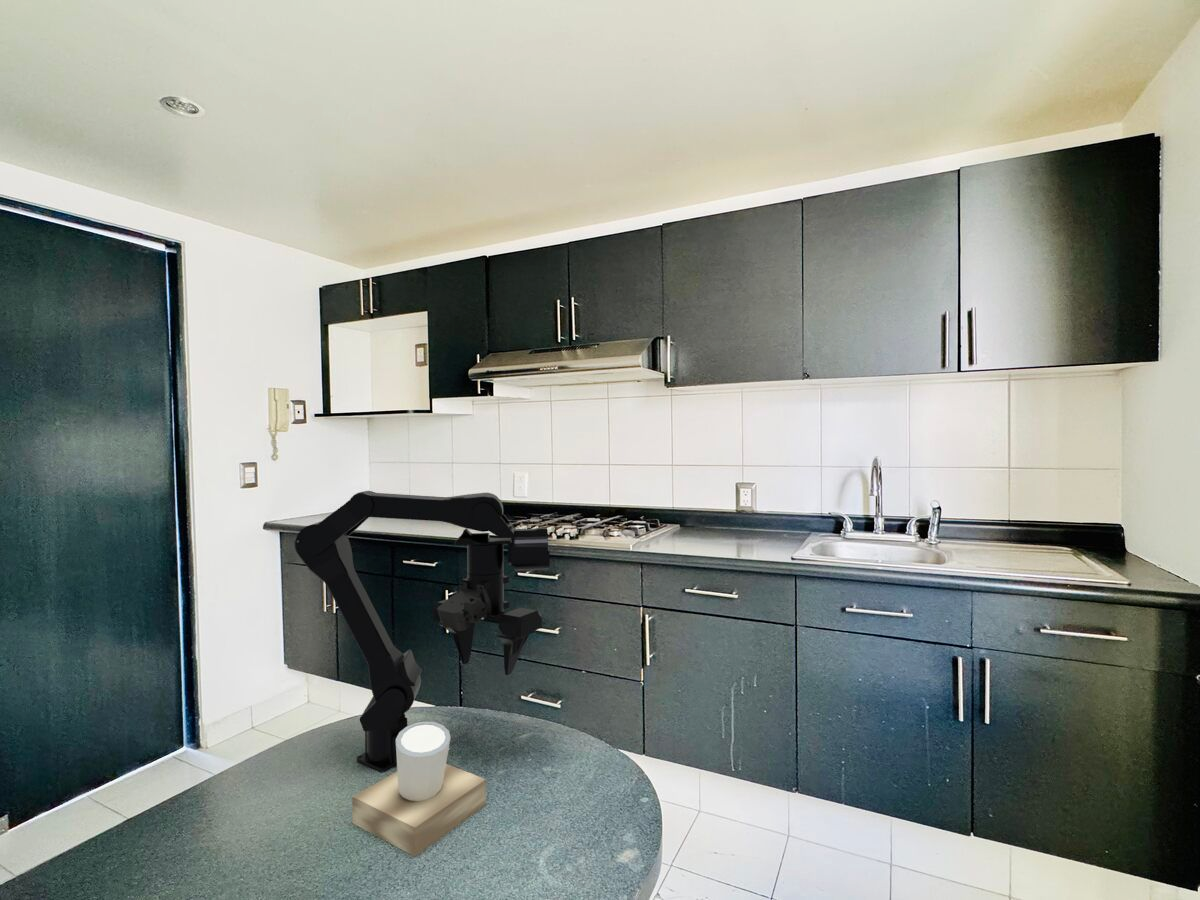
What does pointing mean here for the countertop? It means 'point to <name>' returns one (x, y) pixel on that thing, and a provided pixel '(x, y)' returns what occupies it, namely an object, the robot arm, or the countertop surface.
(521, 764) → the countertop surface
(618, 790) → the countertop surface
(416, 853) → the birch block
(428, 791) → the shot glass
